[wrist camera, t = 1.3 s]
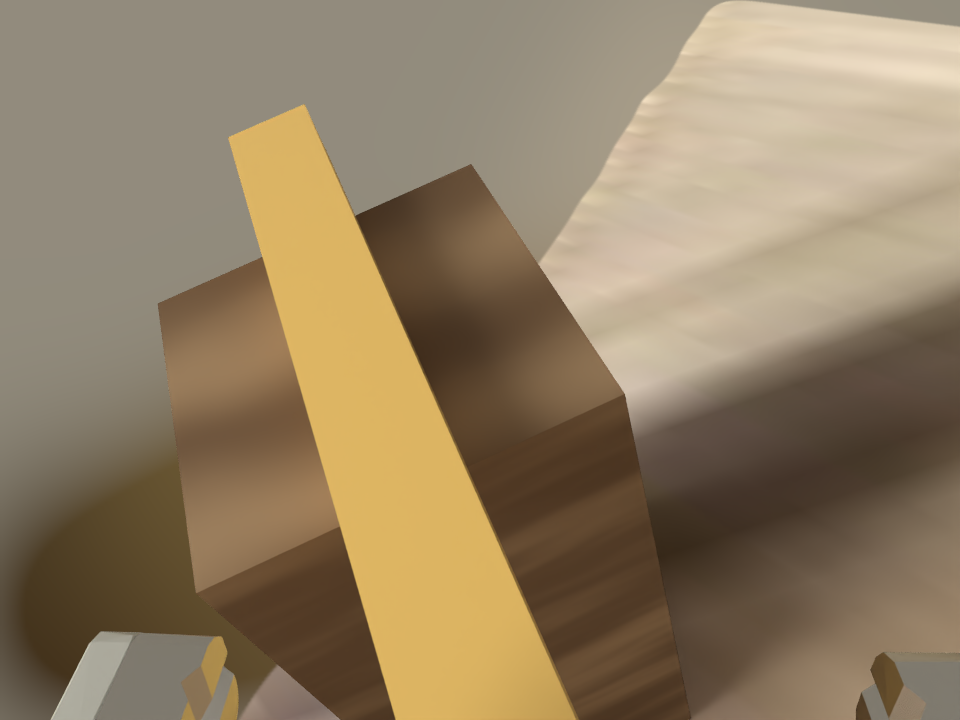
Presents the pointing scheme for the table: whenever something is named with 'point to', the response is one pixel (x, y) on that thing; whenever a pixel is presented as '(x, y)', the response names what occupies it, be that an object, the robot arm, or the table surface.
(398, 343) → the tan wooden beam
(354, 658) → the walnut post
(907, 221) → the table surface
